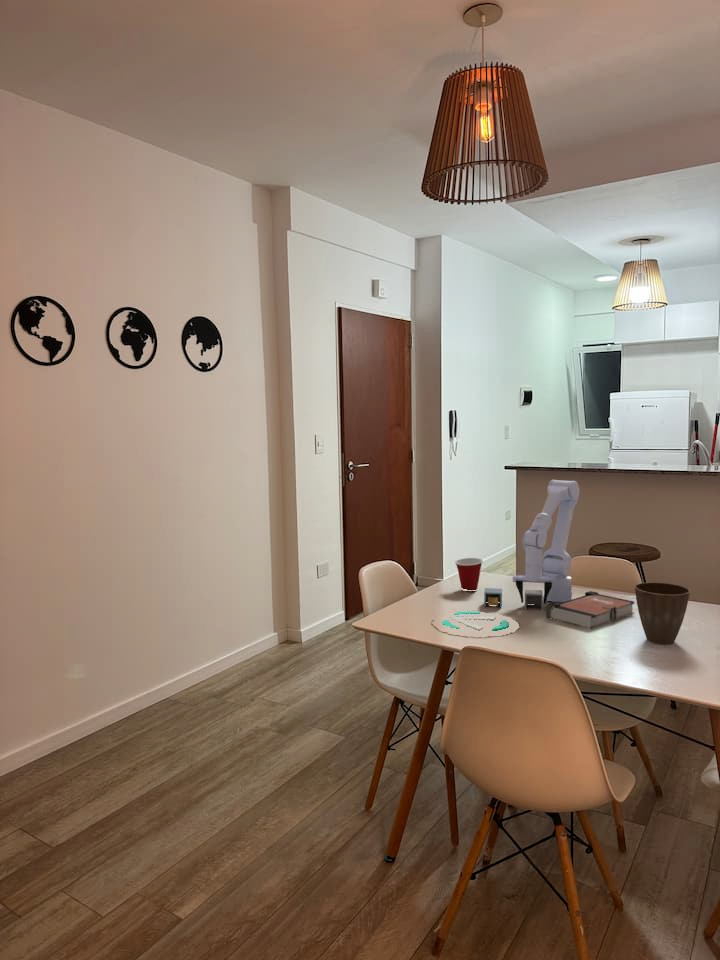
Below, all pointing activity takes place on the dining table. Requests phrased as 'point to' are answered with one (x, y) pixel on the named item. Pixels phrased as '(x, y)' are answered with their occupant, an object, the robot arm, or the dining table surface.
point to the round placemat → (503, 623)
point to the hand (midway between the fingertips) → (533, 602)
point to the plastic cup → (469, 572)
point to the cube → (493, 600)
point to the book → (590, 610)
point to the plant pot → (661, 610)
